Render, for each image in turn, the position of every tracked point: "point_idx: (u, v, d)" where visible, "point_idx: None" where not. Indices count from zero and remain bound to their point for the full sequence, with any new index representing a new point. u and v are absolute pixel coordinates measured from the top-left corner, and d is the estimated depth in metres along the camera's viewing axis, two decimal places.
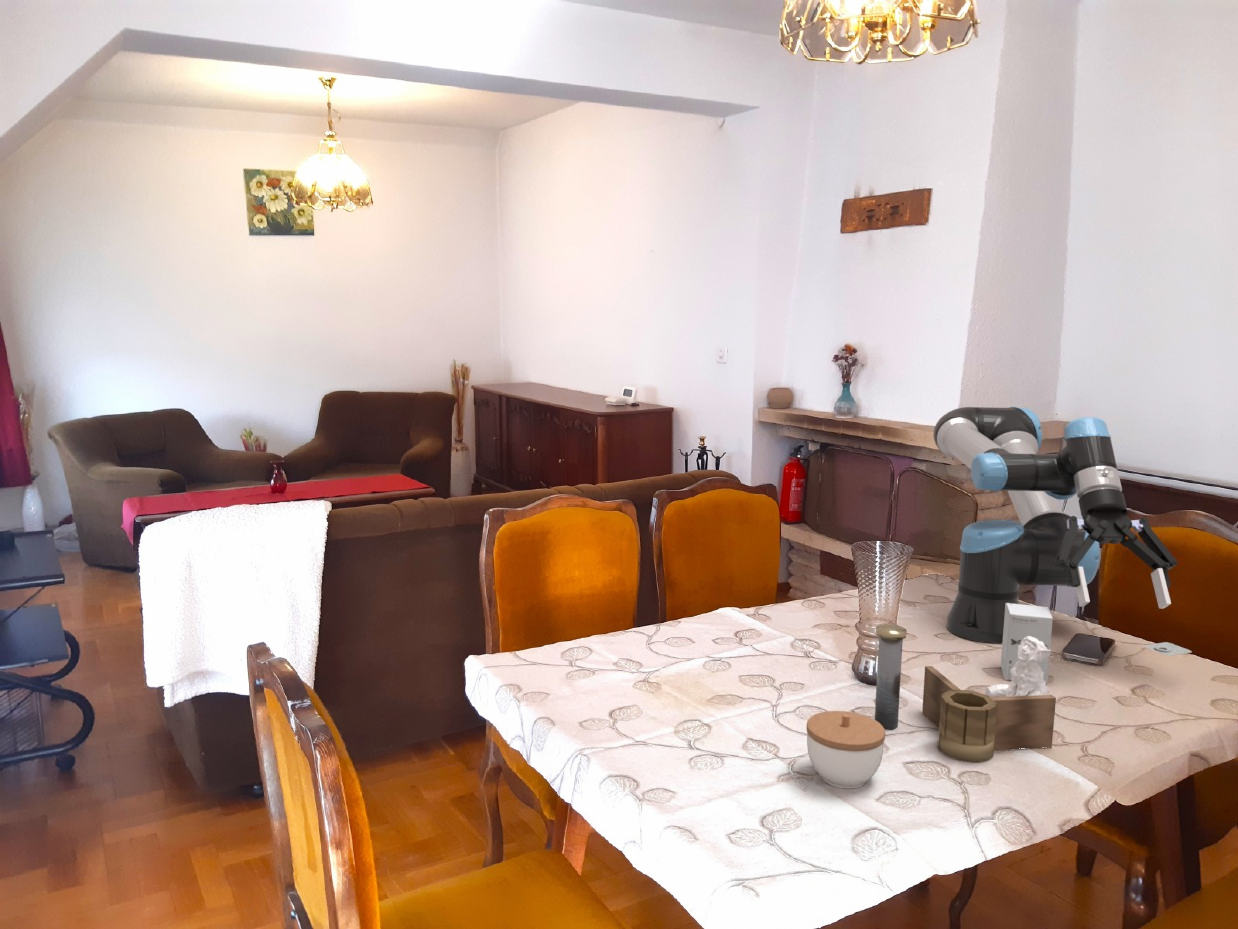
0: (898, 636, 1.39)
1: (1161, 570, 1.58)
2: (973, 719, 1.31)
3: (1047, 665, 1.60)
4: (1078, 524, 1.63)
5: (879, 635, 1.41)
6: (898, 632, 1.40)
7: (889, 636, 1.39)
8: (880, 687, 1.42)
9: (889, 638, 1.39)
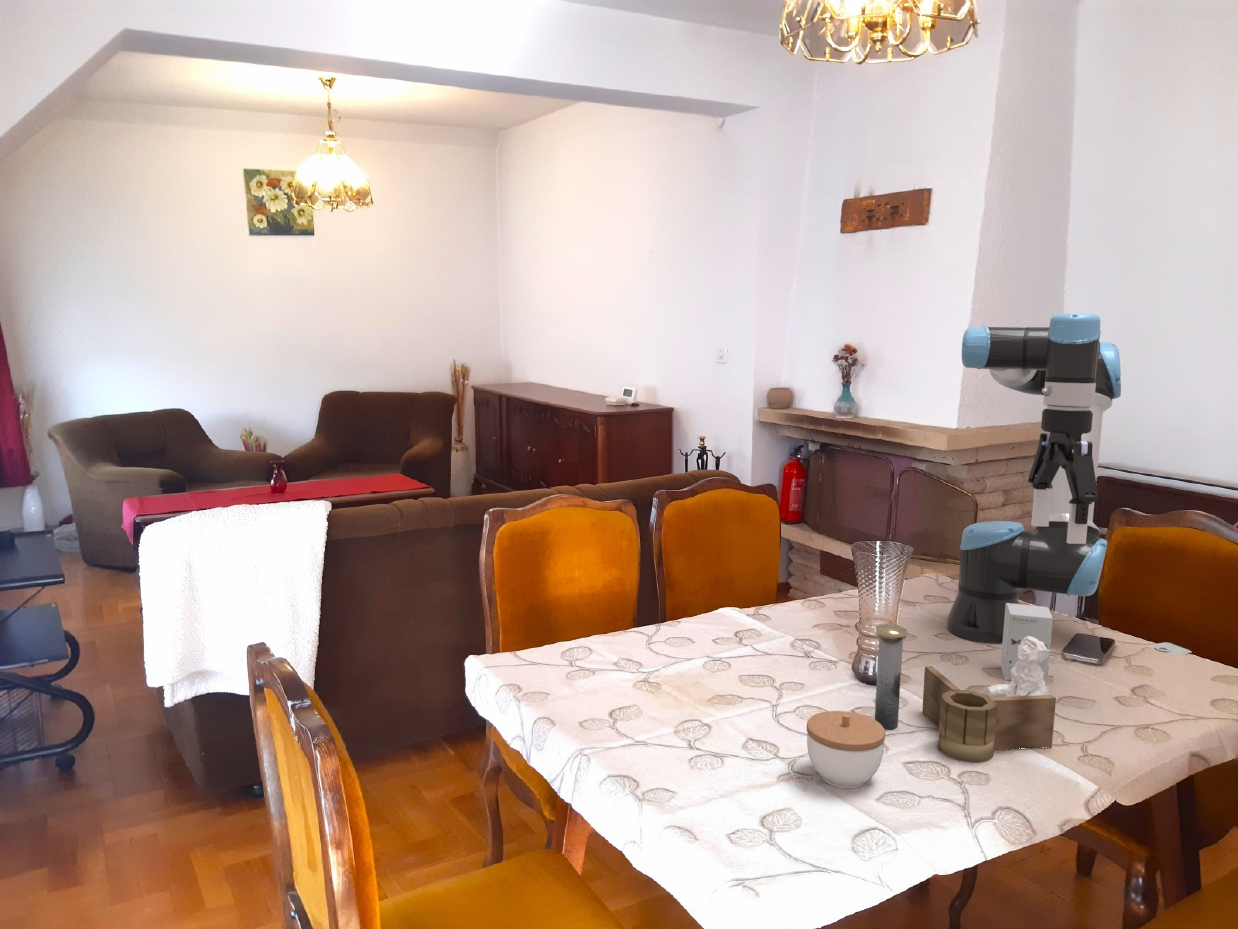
0: (898, 636, 1.39)
1: (1071, 505, 1.43)
2: (973, 719, 1.31)
3: (1047, 665, 1.60)
4: (1042, 443, 1.54)
5: (879, 635, 1.41)
6: (899, 632, 1.40)
7: (889, 636, 1.39)
8: (880, 687, 1.42)
9: (889, 638, 1.39)
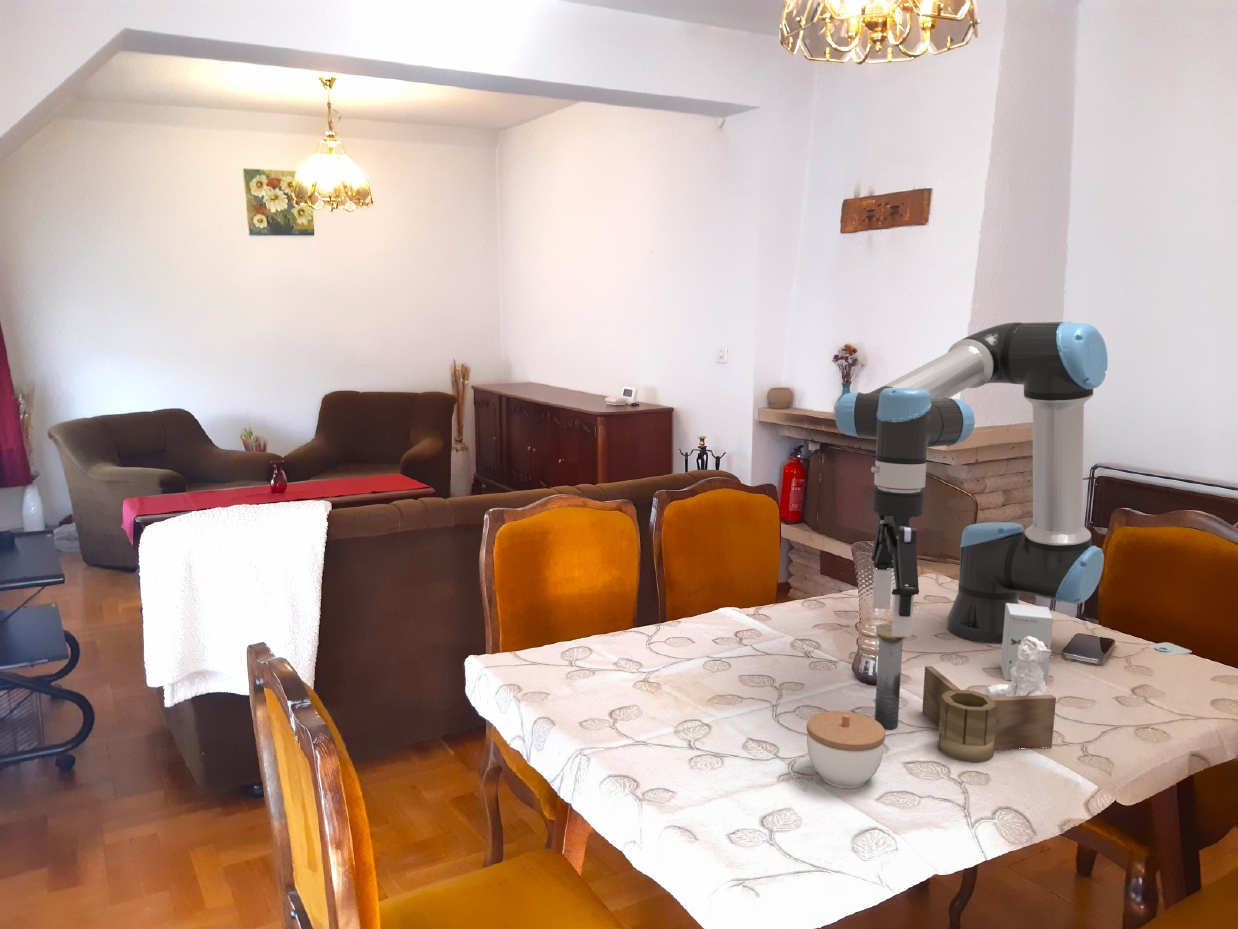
0: (898, 636, 1.39)
1: (894, 596, 1.33)
2: (973, 719, 1.31)
3: (1047, 665, 1.60)
4: (880, 522, 1.45)
5: (879, 635, 1.41)
6: None
7: (889, 636, 1.39)
8: (880, 687, 1.42)
9: (889, 638, 1.39)
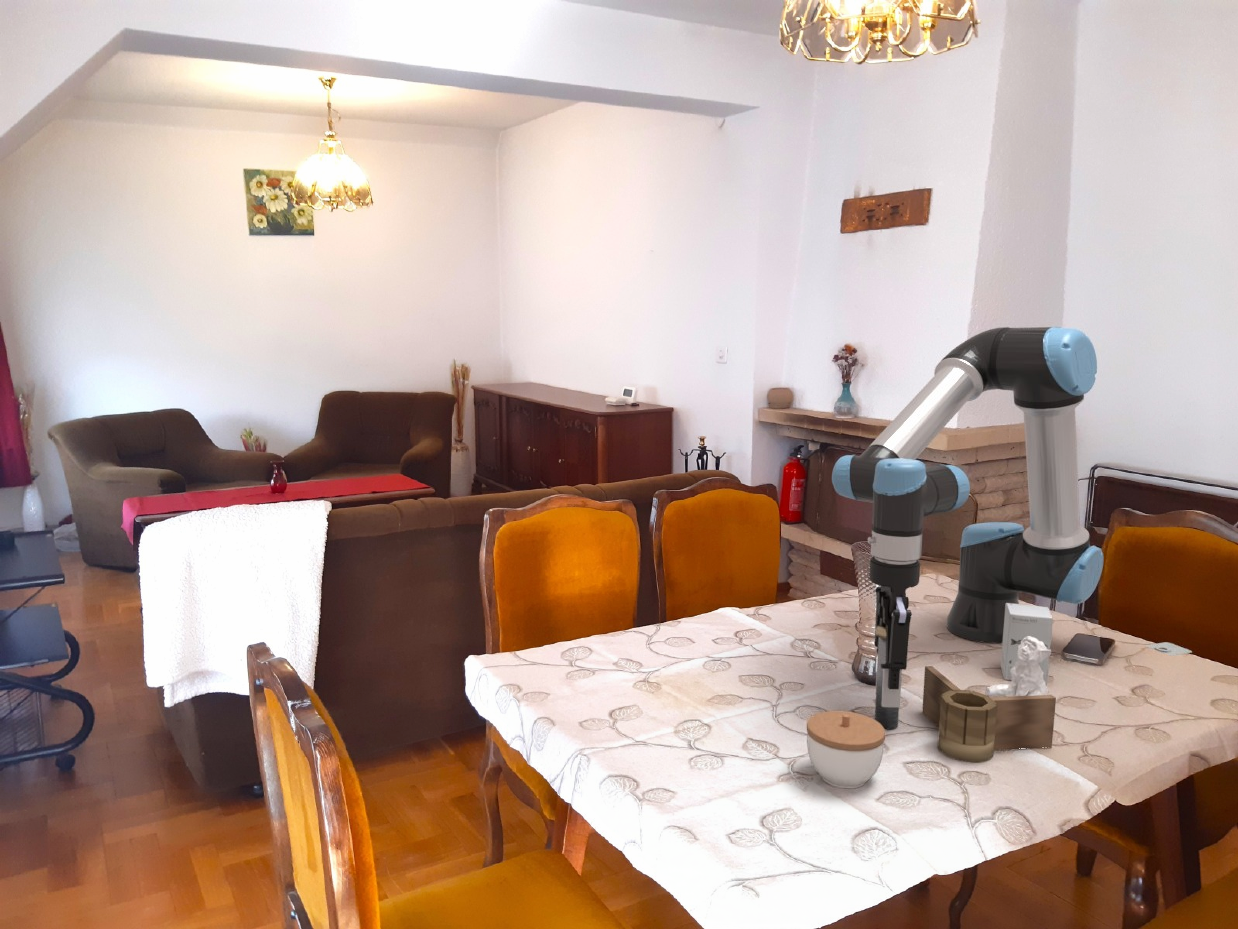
0: None
1: (883, 669, 1.40)
2: (973, 719, 1.31)
3: (1047, 665, 1.60)
4: (878, 596, 1.46)
5: (879, 635, 1.41)
6: None
7: None
8: (880, 687, 1.42)
9: None
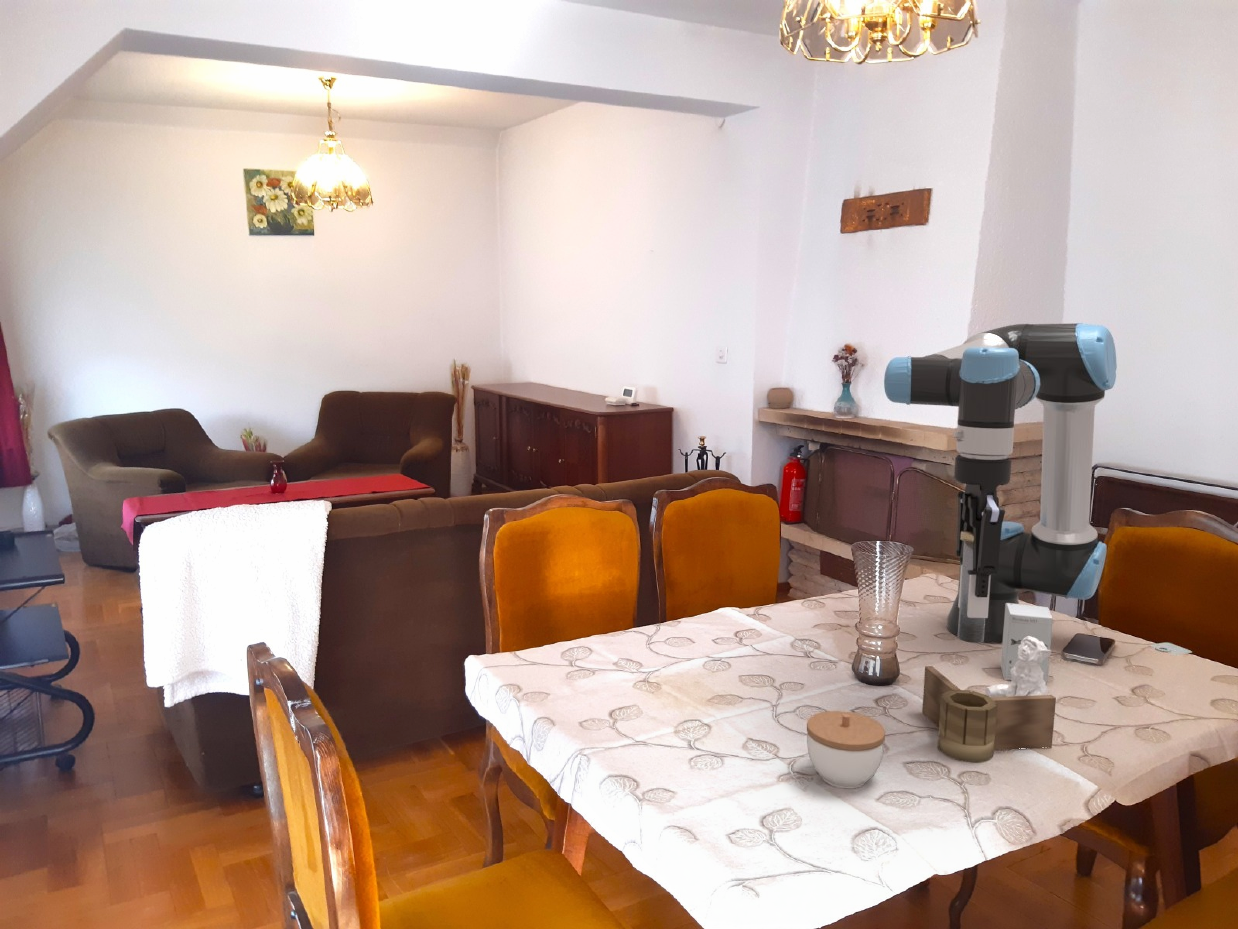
0: None
1: (970, 576, 1.29)
2: (973, 719, 1.31)
3: (1047, 665, 1.60)
4: (961, 501, 1.35)
5: (965, 539, 1.30)
6: None
7: None
8: (966, 597, 1.31)
9: None
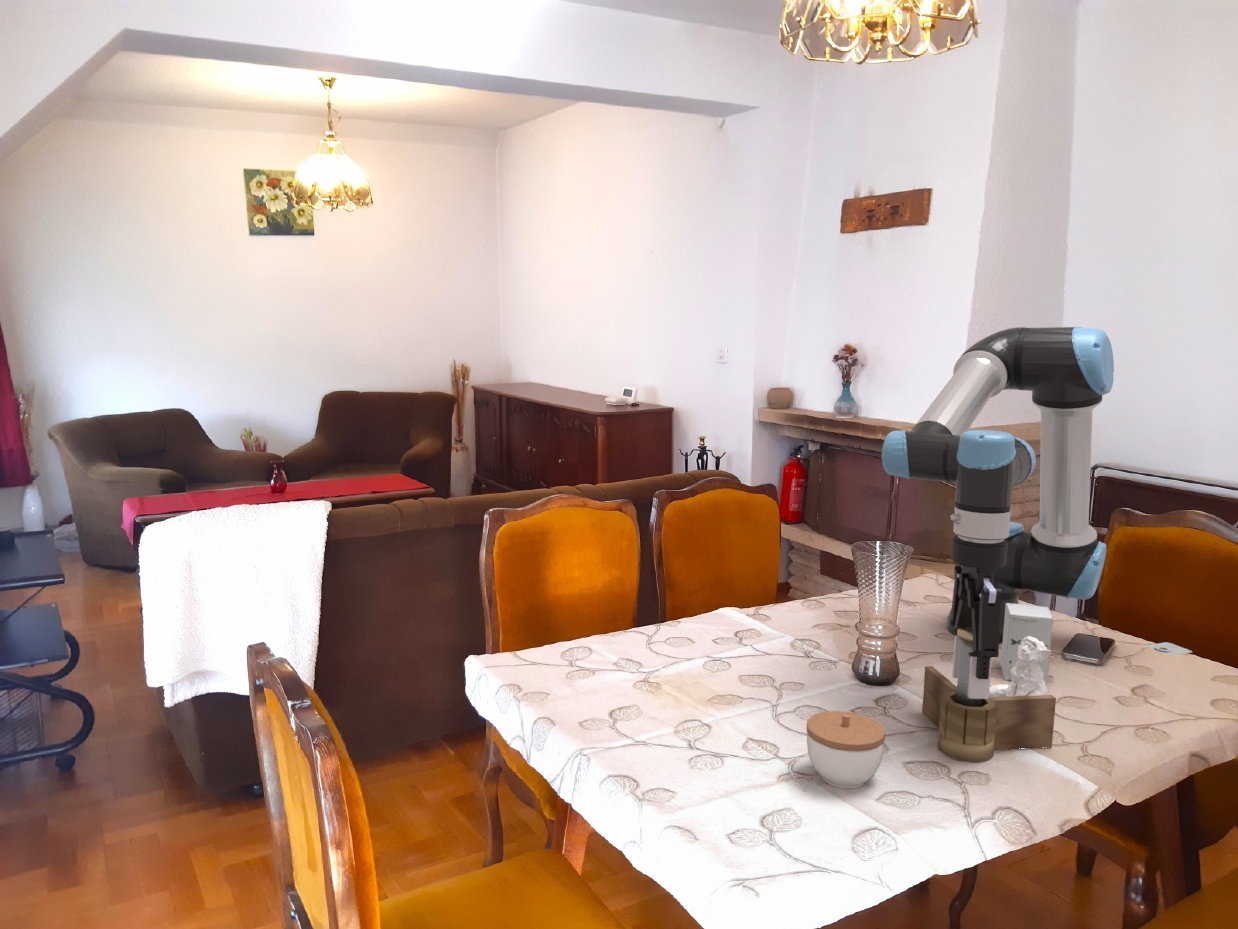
0: None
1: (971, 657, 1.29)
2: (973, 719, 1.31)
3: (1047, 665, 1.60)
4: (957, 576, 1.37)
5: (961, 638, 1.32)
6: None
7: None
8: (962, 693, 1.33)
9: None
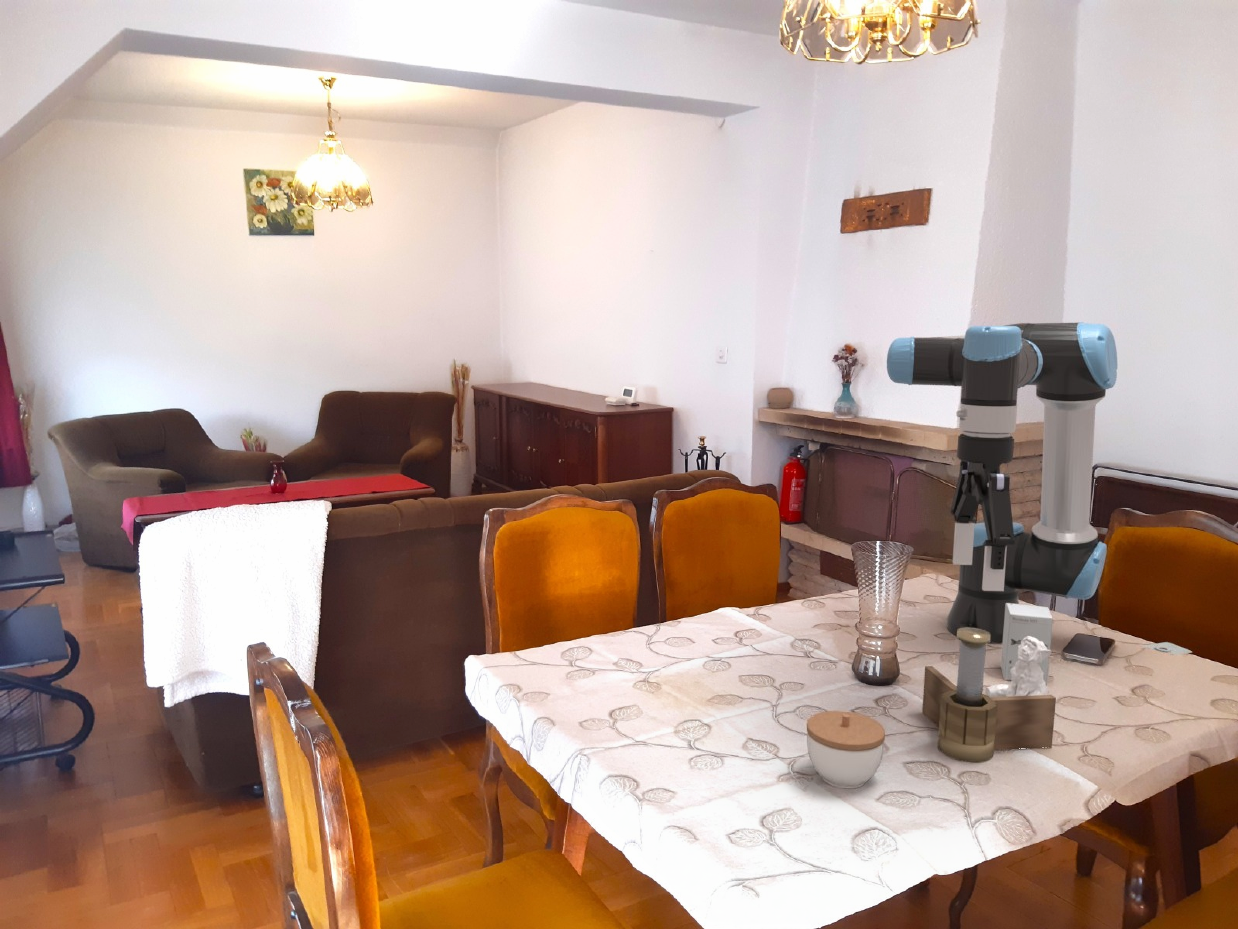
0: (982, 640, 1.30)
1: (986, 547, 1.24)
2: (973, 719, 1.31)
3: (1047, 665, 1.60)
4: (962, 471, 1.35)
5: (961, 639, 1.32)
6: (983, 636, 1.31)
7: (973, 640, 1.31)
8: (962, 694, 1.33)
9: (973, 642, 1.31)
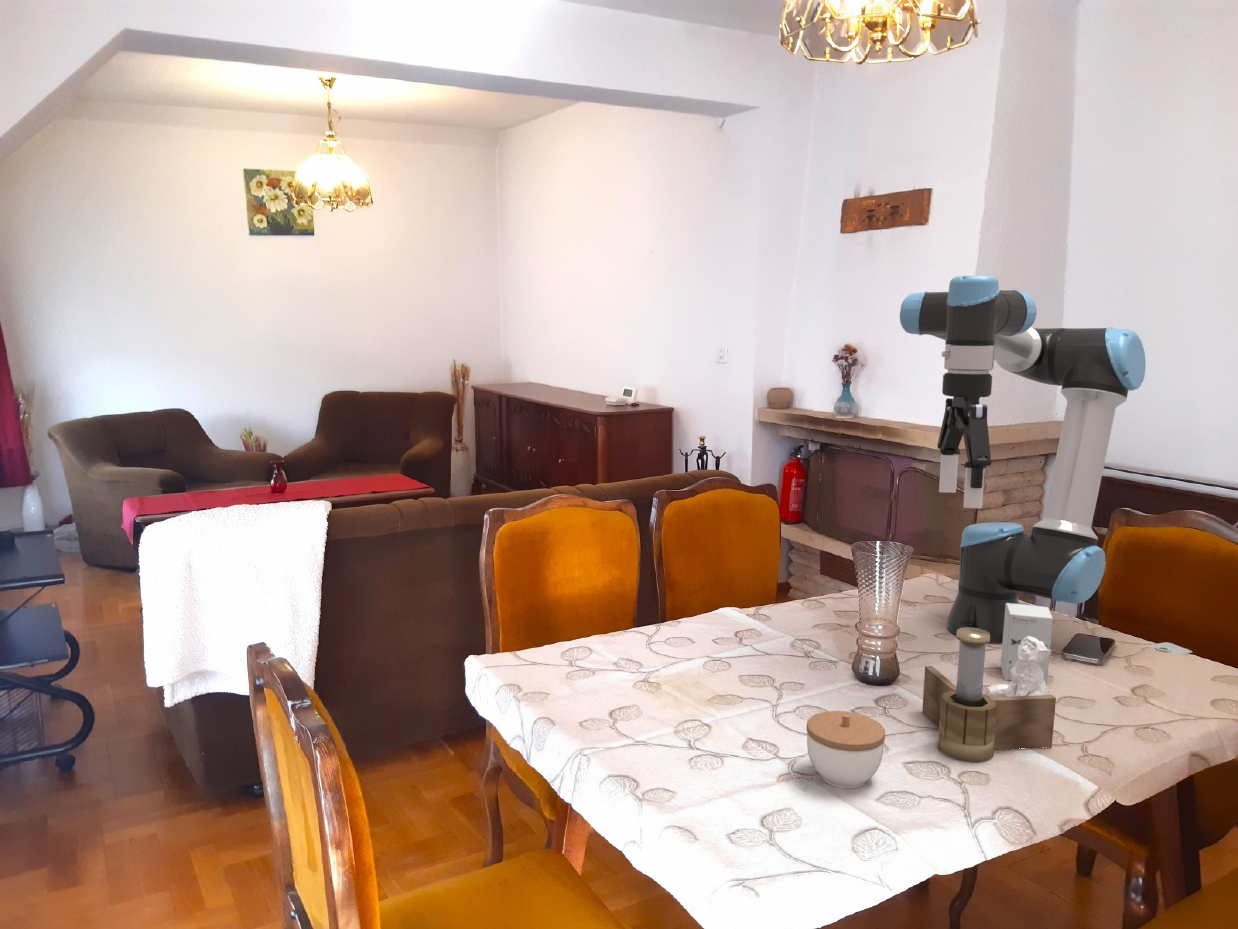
0: (982, 640, 1.30)
1: (966, 469, 1.42)
2: (973, 719, 1.31)
3: (1047, 665, 1.60)
4: (947, 408, 1.53)
5: (961, 639, 1.32)
6: (982, 636, 1.31)
7: (972, 640, 1.31)
8: (961, 694, 1.33)
9: (972, 642, 1.31)
